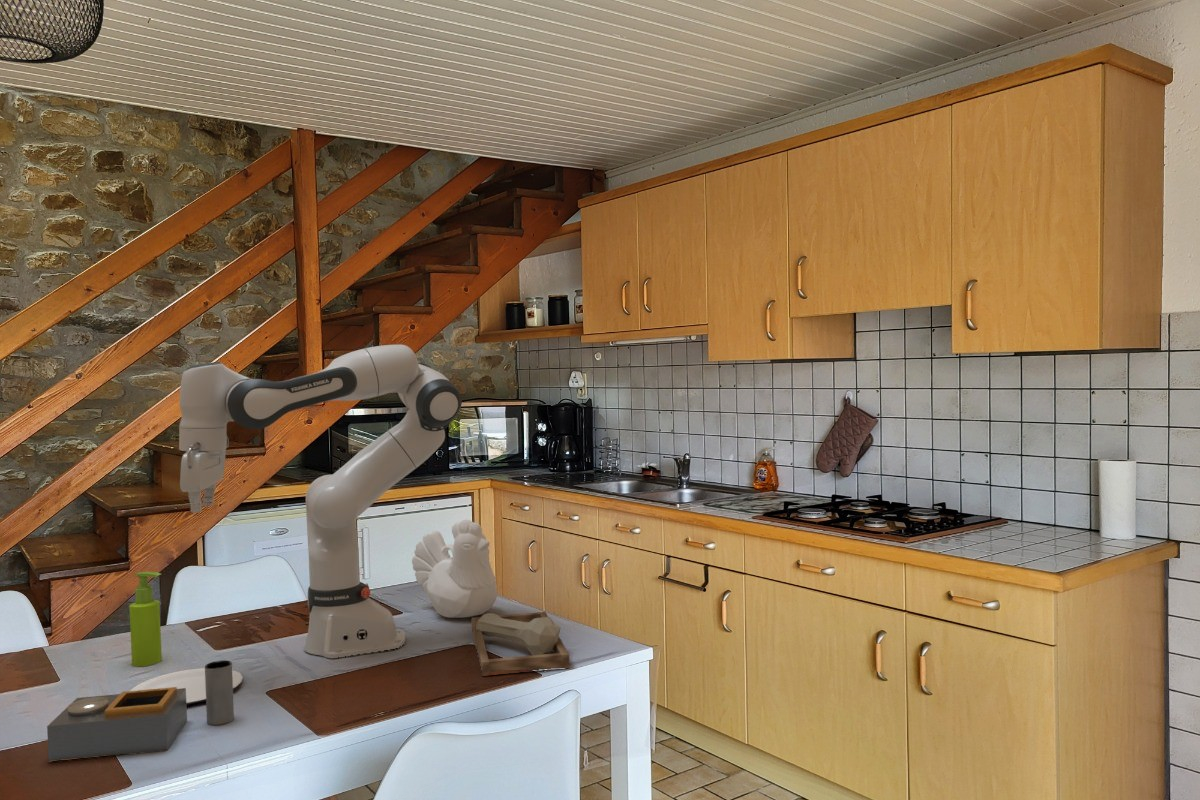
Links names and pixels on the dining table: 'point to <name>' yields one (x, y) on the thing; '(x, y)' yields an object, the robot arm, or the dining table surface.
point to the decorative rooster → (456, 571)
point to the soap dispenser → (145, 624)
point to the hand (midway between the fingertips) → (202, 508)
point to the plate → (185, 683)
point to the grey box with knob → (118, 724)
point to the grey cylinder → (219, 692)
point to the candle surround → (524, 662)
